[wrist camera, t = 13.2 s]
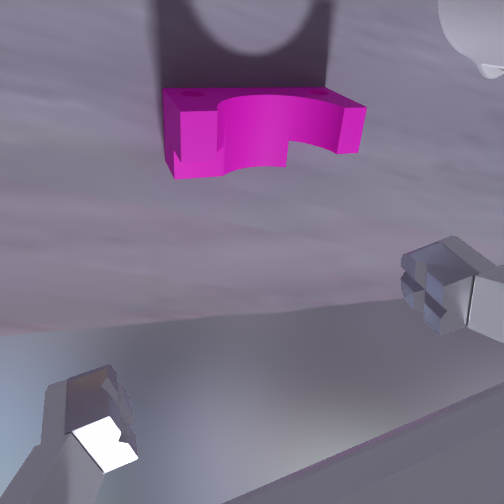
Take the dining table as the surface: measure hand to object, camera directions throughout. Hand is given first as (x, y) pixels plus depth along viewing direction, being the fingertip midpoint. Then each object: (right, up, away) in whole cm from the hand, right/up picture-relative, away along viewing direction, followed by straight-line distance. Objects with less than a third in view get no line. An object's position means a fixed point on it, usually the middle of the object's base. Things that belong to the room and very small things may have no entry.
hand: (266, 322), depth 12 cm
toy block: (-1, +14, +29) cm, 32 cm away
